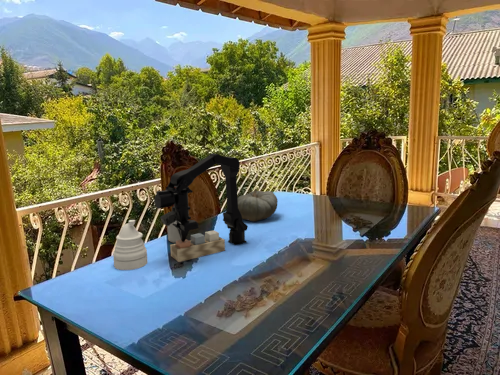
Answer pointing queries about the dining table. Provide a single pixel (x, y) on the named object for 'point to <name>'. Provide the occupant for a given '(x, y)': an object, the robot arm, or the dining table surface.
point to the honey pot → (129, 248)
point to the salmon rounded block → (182, 243)
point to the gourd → (257, 205)
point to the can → (173, 233)
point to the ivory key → (211, 236)
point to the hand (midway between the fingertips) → (183, 241)
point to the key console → (197, 250)
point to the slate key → (197, 239)
